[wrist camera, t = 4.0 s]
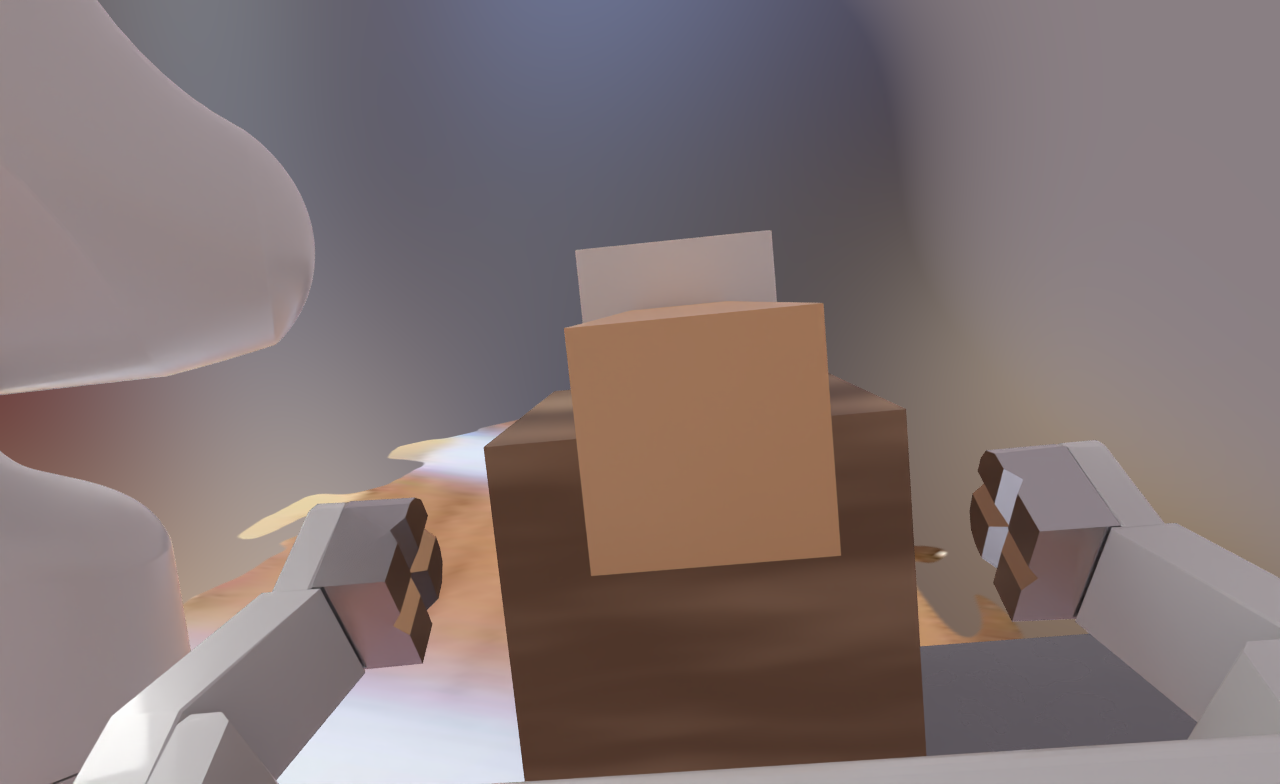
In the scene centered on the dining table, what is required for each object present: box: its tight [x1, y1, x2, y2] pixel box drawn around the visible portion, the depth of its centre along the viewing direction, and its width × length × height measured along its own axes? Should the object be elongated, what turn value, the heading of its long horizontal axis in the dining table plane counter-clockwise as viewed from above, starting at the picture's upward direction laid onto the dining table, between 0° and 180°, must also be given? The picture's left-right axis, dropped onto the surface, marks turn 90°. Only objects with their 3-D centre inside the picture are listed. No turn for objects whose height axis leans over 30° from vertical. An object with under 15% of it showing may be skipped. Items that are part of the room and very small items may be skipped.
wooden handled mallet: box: [564, 230, 841, 576], centre depth 19 cm, size 21×6×5 cm, turn 178°
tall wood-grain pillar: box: [484, 373, 927, 782], centre depth 27 cm, size 12×10×26 cm
